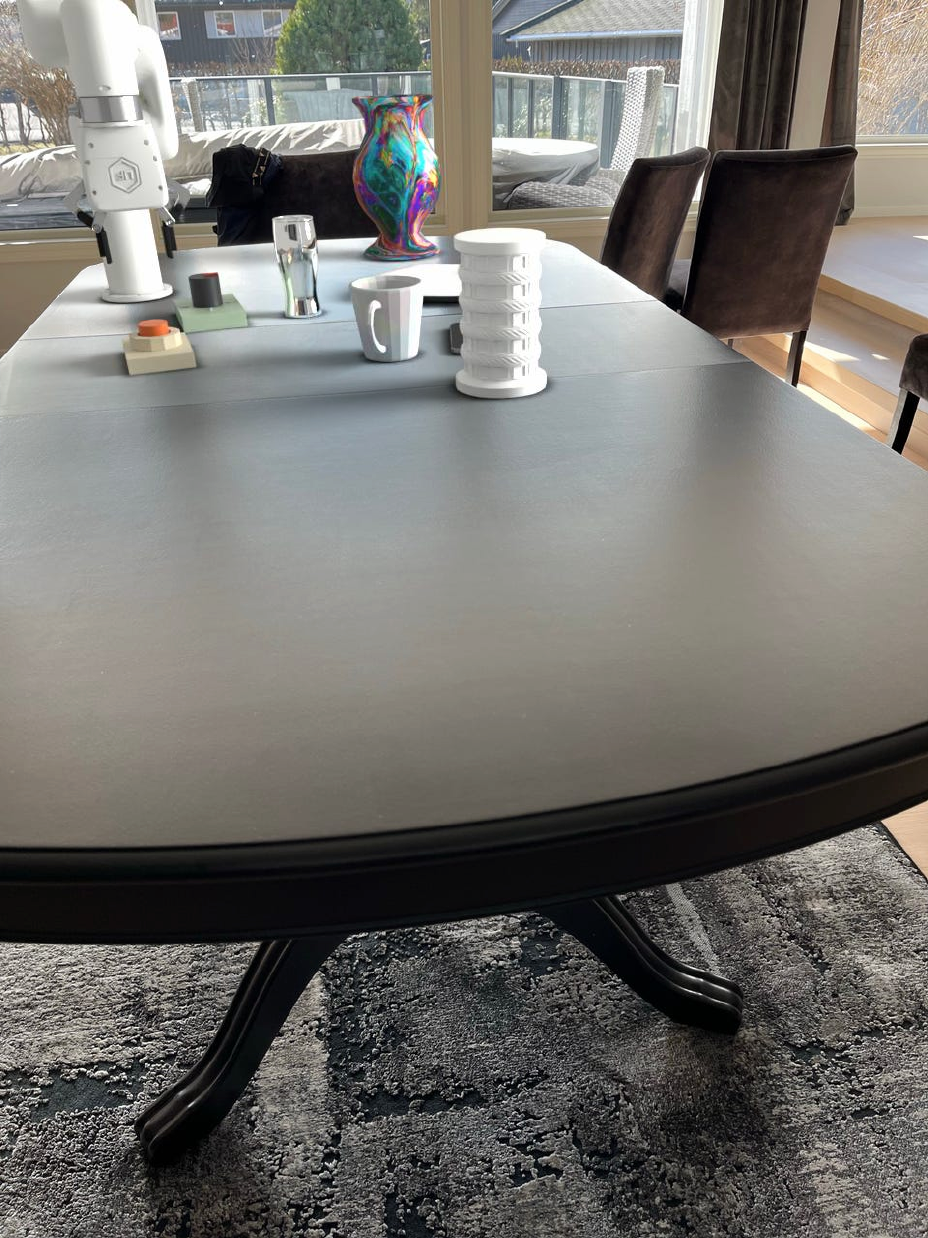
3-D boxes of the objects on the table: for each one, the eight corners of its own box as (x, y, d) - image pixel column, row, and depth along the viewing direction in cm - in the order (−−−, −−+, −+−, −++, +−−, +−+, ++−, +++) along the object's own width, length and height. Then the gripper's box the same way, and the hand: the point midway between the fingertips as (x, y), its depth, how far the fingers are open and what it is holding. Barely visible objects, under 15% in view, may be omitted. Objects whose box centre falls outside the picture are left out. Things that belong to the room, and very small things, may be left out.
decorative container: (438, 390, 119) (431, 239, 110) (485, 367, 128) (482, 225, 119) (518, 403, 114) (518, 245, 105) (561, 378, 122) (565, 230, 113)
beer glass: (316, 319, 155) (305, 220, 147) (276, 318, 156) (263, 220, 148) (329, 309, 160) (320, 214, 153) (291, 308, 162) (280, 214, 154)
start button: (139, 333, 135) (136, 321, 134) (168, 330, 136) (165, 318, 135) (141, 340, 132) (138, 327, 131) (170, 336, 133) (168, 324, 132)
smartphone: (451, 349, 133) (449, 322, 146) (451, 354, 134) (449, 327, 147) (505, 347, 133) (499, 320, 146) (505, 352, 134) (499, 325, 147)
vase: (457, 249, 207) (453, 93, 192) (420, 264, 193) (412, 97, 177) (384, 245, 214) (374, 94, 198) (343, 260, 200) (328, 98, 184)
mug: (435, 346, 138) (432, 274, 133) (409, 375, 126) (404, 298, 120) (366, 344, 140) (361, 273, 135) (334, 373, 127) (327, 296, 122)
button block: (125, 354, 139) (119, 326, 137) (187, 346, 142) (182, 319, 140) (129, 375, 129) (123, 346, 127) (196, 367, 132) (191, 338, 130)
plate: (341, 301, 165) (340, 289, 164) (406, 271, 187) (405, 261, 186) (484, 310, 156) (483, 298, 155) (535, 278, 178) (535, 267, 177)
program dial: (195, 308, 152) (189, 277, 150) (191, 302, 156) (186, 272, 154) (225, 305, 154) (220, 274, 151) (220, 299, 158) (215, 269, 155)
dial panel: (175, 314, 161) (172, 298, 159) (234, 308, 163) (232, 292, 162) (184, 333, 149) (181, 315, 148) (247, 325, 152) (245, 309, 151)
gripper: (37, 117, 114) (73, 270, 123) (184, 110, 119) (208, 258, 128) (39, 114, 120) (72, 261, 129) (178, 108, 125) (201, 249, 134)
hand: (140, 258), depth 128 cm, fingers open, 7 cm apart
